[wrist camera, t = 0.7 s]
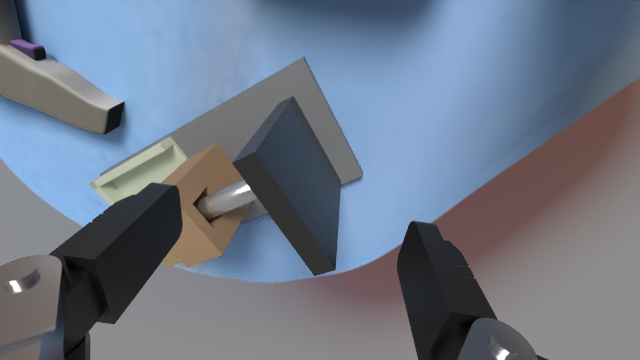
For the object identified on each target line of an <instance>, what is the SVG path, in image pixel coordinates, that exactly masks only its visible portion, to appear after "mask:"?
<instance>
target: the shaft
mask: <svg viewBox="0 0 640 360" xmlns="http://www.w3.org/2000/svg"><path fill="white" fill-rule="evenodd" d="M232 164H233V166H234V167H235V168H236V170H237V171H238V172H239V174H240V175H241V176H242V178H243V180H241V181H238V182H236V183H234V184H232V185H230V186H227V187H225V188H223V189H221V190H219V191H216V192H214V193H212V194H210V195H208V196H205V197H203V198H201V199H199V200H197V201H195V202H194V203H193V205H194V206H195V208H196V209H197V210H198V211H199V212H200V213H201V214H202V216H203V217H204V218H205V219H206V220H209V219H212V218H214V217H216V216H219V215H221V214H223V213H226V212H228V211H231V210H233V209H235V208H238V207H240V206H243V205H245V204H247V203H250V202H252V201H254V200H257V199H258V200H259V201H260V202H261V204H262V205H263V206H264V208H265V209H266V211H267V212H268V213H269V215H270V216H271V217H272V219H273V220H274V221H275V223H276V224H277V226H278V227H279V228H280V230H281V231H282V232H283V234H284V235H285V236H286V238H287V239H288V240H289V242H290V243H291V245H292V246H293V247H294V249H295V250H296V251H297V253H298V254H299V255H300V257H301V258H302V260H303V261H304V262H305V264H306V265H307V266H308V268H309V269H310V270H311V272H312V273H313V275H314V276H316V275H320V274H323V273H326V272H330V271H333V270H335V269H336V253H337V237H338V221H339V205H340V190H341V180H340V178H339V176H338V174H337V173H336V171H335V169H334V167H333V165H332V164H331V162H330V160H329V158H328V157H327V155H326V153H325V151H324V149H323V148H322V146H321V144H320V142H319V140H318V139H317V137H316V135H315V133H314V131H313V130H312V128H311V126H310V124H309V122H308V121H307V119H306V117H305V115H304V114H303V112H302V110H301V108H300V106H299V105H298V103H297V101H296V99H295V97H294V96H292V97H290V98H288V99H286V100H284V101H282V102H280V103H279V104H278V105H277V106H276V107H275V108H274V110H273V111H272V112H271V114H270V115H269V116H268V117H267V119H266V120H265V121H264V122H263V124H262V125H261V126H260V128H259V129H258V130H257V131H256V133H255V134H254V135H253V136H252V138H251V139H250V140H249V142H248V143H247V144H246V145H245V147H244V148H243V149H242V150H241V152H240V153H239V154H238V156H237V157H236V158H235V159H234V161H233V162H232Z"/></svg>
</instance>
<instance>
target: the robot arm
mask: <svg viewBox="0 0 640 360" xmlns="http://www.w3.org/2000/svg"><path fill="white" fill-rule="evenodd" d="M182 227H183V220H182V211H181V202H180V193H179V189H178V187H177V186H175V185H168V184H161V183H154V182H152V183H150V184H148V185H147V186H146V187H145V188H144V189H142V190H141V191H140V192H139V193H137V194H136V195H134V194H133V195H131V196H128V197H126V198H124V199H121V200H119V201H117V202H115V203H114V204H113V205H111V206H110V207H109V208H108V209H106V210H105V211H104V212H103V214H100V215H99V216H97V217H96V218H95V219H93V222H92V223H91V222H90V223H88V224H87V225H86V226H85V227H83V228H82V229H81V230H79V231H78V232H77V233H76V234H74V235H73V236H72V237H70V238H69V239H68V240H67V241H65V242H64V243H63V244H62V245H60V246H59V247H58V248H56V249H55V250H54V251H53V252H51V253H50V254H49V255H33V256H27V257H23V258H19V259H16V260H14V261H11V262H9V263H6V264H4V265H2V266H0V360H90V335H89V332H88V331H89V330H90V329H91V328H92V327H93V325H94V324H95V323H96V322H103V323H109V324H115V323H116V321H117V320H118V319H119V317H120V316H121V315H122V314H123V312H124V311H125V309H126V308H127V307H128V306H129V304H130V303H131V301H132V300H133V299H134V298H135V296H136V295H137V294H138V292H139V291H140V290H141V288H142V287H143V285H144V284H145V283H146V282H147V280H148V279H149V278H150V276H151V275H152V274H153V273H154V271H155V270H156V269H157V267H158V266H159V265H160V263H161V262H162V261H163V259H164V258H165V257H166V255H167V254H168V253H169V251H170V250H171V249H172V247H173V246H174V245H175V244H176V242H177V241H178V239H179V237H180V235H181V232H182ZM397 271H398V276H399V280H400V284H401V289H402V293H403V297H404V301H405V305H406V310H407V313H408V318H409V322H410V327H411V331H412V335H413V339H414V343H415V347H416V352H417V356H418V360H548V359H545V358H543V357H540V356H538V355H536V353H535V351H534V350H533V348H532V347H531V345H530V344H529V343H528V341H527V340H526V339H525V338H524V337H523V336H522V335H521V334H520V333H518V332H517V331H516V330H515V329H513V328H512V327H510V326H509V325H507V324H505V323H503V322H501V321H499V320H497V318H496V316H495V314H494V312H493V310H492V308H491V307H490V305H489V303H488V301H487V299H486V297H485V295H484V294H483V292H482V290H481V288H480V286H479V285H478V283H477V281H476V279H474V275H473V273H472V271H471V270H470V268H468V264H467V262H466V261H465V259H464V257H463V255H462V253H461V252H460V251H459V250H458V249H457V248H456V247H455V246H454V245H453V244H452V243H451V242H450V241H445V240H443V238H442V236H441V234H440V232H439V230H438V228H437V226H436V225H435V224H431V223H424V222H417V221H412V222H411V223H410V224H409V226H408V229H407V232H406V235H405V238H404V241H403V244H402V247H401V249H400V252H399V255H398V261H397Z"/></svg>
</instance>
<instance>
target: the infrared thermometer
mask: <svg viewBox="0 0 640 360" xmlns="http://www.w3.org/2000/svg"><path fill="white" fill-rule="evenodd" d="M0 96H3V97H6V98H8V99H10V100H13V101H15V102H18V103H21V104H24V105H26V106H29V107H32V108H34V109H37V110H39V111H41V112H43V113H45V114H48V115H50V116H52V117H54V118H56V119H59V120H61V121H63V122H65V123H68V124H70V125H73V126H75V127H78V128H81V129H83V130H87V131H90V132H94V133H98V134H107V133H109V132H110V131H112V130H114V129H115V128H117V127H118V126H119V125H120V120H121V115H122V110H123V105H124V101H122V100H119V99H116V98H114V97H112V96H110V95H108V94H106V93H105V92H103V91H102V90H100V89H99V88H98V87H96V86H95V85H94V84H92V83H91V82H89V81H88V80H87V79H85V78H84V77H83V76H81V75H80V74H79V73H77V72H76V71H74V70H73V69H71V68H69V67H67V66H65V65H63V64H61V63H59V62H57V61H55V60H54V59H53V58H51V57H50V56H48V55H47V54H46V52H45V49H44V47H43V46H41V45H35V44H31V43H29V42H27V41H25V40H24V39H23V38H22V36H21V31H20V26H19V22H18V17H17V12H16V7H15V2H14V0H0Z"/></svg>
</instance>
